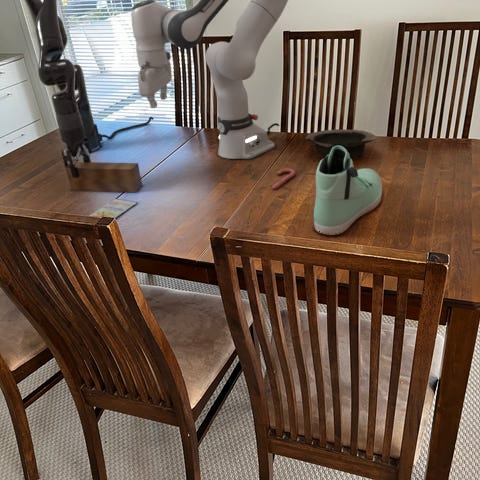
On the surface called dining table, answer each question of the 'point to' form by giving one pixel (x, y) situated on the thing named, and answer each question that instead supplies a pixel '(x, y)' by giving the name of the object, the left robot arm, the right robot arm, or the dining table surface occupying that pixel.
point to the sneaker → (343, 192)
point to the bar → (106, 177)
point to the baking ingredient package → (113, 208)
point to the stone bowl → (340, 141)
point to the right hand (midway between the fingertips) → (159, 103)
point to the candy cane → (284, 177)
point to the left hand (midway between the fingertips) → (82, 172)
